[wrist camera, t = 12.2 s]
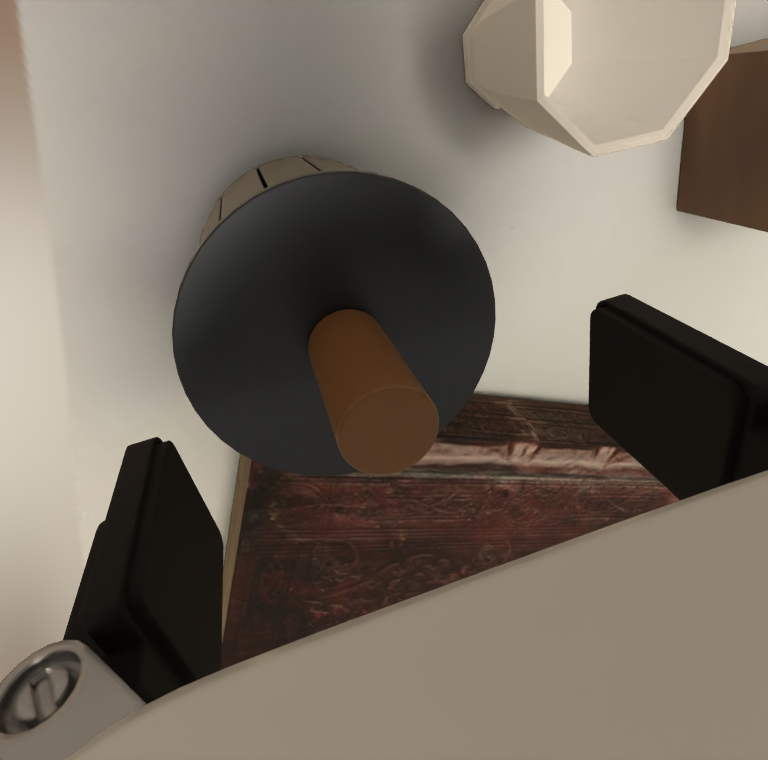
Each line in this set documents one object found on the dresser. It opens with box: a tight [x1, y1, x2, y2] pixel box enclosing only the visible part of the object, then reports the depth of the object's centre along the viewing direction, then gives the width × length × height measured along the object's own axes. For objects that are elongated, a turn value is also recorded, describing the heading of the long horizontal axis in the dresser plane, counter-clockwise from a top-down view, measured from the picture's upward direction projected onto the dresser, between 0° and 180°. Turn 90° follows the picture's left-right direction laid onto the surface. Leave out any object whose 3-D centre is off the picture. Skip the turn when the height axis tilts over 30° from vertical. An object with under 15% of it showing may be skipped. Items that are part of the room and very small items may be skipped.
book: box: [221, 395, 680, 670], centre depth 32 cm, size 29×19×5 cm, turn 76°
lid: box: [172, 170, 495, 476], centre depth 14 cm, size 10×10×6 cm
